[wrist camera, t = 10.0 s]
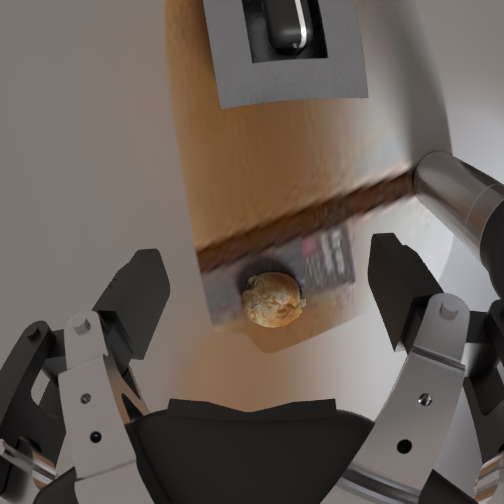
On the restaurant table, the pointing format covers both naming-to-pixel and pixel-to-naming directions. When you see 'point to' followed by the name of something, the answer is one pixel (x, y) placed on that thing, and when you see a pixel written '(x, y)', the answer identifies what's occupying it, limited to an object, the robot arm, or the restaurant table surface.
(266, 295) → the bread roll
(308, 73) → the box
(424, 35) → the restaurant table surface
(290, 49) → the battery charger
